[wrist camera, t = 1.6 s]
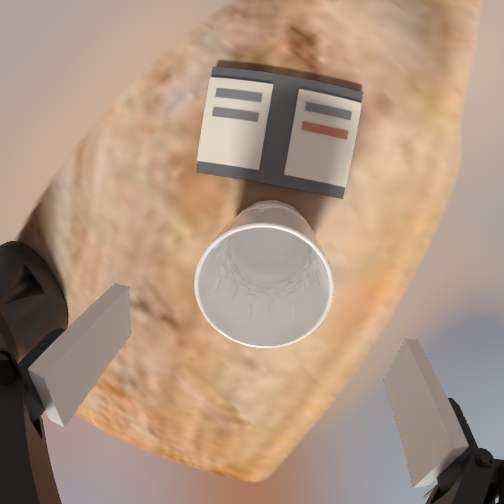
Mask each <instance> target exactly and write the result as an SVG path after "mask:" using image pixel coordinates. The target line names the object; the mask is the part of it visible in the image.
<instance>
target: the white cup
mask: <svg viewBox="0 0 504 504" xmlns="http://www.w3.org/2000/svg"><path fill="white" fill-rule="evenodd" d="M194 287H195V295H196V299H197V302H198V305H199V307H200V309H201V311H202V313H203V315H204V316H205V318H206V319H207V320H208V322H209V323H210V324H211V325H212V326H213V327H214V328H215V329H216V330H217V331H219V332H220V333H221V334H223V335H224V336H226V337H227V338H229V339H231V340H233V341H235V342H238V343H241V344H244V345H247V346H252V347H259V348H274V347H281V346H285V345H289V344H292V343H294V342H297V341H299V340H301V339H303V338H304V337H306V336H307V335H309V334H310V333H311V332H313V331H314V330H315V329H316V328H317V327H318V326H319V325H320V324H321V322H322V321H323V320H324V318H325V317H326V315H327V313H328V311H329V309H330V306H331V303H332V300H333V294H334V279H333V274H332V270H331V267H330V265H329V262H328V260H327V258H326V256H325V254H324V252H323V250H322V248H321V246H320V244H319V242H318V240H317V238H316V236H315V234H314V232H313V231H312V229H311V227H310V226H309V224H308V223H307V221H306V219H305V218H304V217H303V216H302V215H301V214H300V213H299V212H298V211H297V210H296V209H295V208H294V207H293V206H291V205H288V204H286V203H283V202H280V201H278V200H269V201H258V202H256V203H254V204H253V205H251V206H249V207H248V208H246V209H244V210H243V211H242V212H241V213H240V214H238V215H237V216H236V217H235V218H234V219H233V220H232V221H231V222H230V223H229V224H228V225H227V226H226V227H225V228H224V229H223V230H222V231H221V232H220V234H219V235H218V236H217V237H216V238H215V239H214V240H213V241H212V243H211V244H210V245H209V246H208V247H207V248H206V250H205V251H204V253H203V254H202V256H201V258H200V260H199V262H198V265H197V268H196V272H195V279H194Z"/></svg>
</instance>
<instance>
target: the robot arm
mask: <svg viewBox="0 0 504 504" xmlns="http://www.w3.org/2000/svg"><path fill="white" fill-rule="evenodd" d="M67 323H68V317H67V309H66V304H65V301H64V298H63V295H62V292H61V290H60V287H59V285H58V283H57V281H56V279H55V277H54V276H53V274H52V272H51V271H50V269H49V268H48V266H47V265H46V264H45V262H44V261H43V260H42V259H41V258H40V256H39V255H38V254H37V253H36V252H34V251H33V250H32V249H31V248H29V247H28V246H26V245H25V244H23V243H20V242H16V241H10V242H6V243H4V244H3V245H1V246H0V504H62V503H61V500H60V497H59V493H58V490H57V487H56V483H55V479H54V475H53V471H52V467H51V463H50V458H49V454H48V449H47V444H46V438H45V432H44V426H43V420H42V418H41V415H42V414H43V412H44V411H46V414H47V416H48V418H49V419H50V420H52V421H53V422H55V423H57V424H59V425H61V426H63V427H65V426H66V425H67V423H68V422H69V420H70V419H71V418H72V416H73V415H74V413H75V412H76V410H77V409H78V407H79V406H80V404H81V403H82V402H83V400H84V399H85V397H86V396H87V394H88V393H89V392H90V390H91V389H92V387H93V386H94V385H95V383H96V382H97V380H98V379H99V378H100V376H101V375H102V373H103V372H104V371H105V369H106V368H107V366H108V365H109V364H110V362H111V361H112V360H113V358H114V357H115V355H116V354H117V353H118V351H119V350H120V349H121V347H122V346H123V345H124V343H125V342H126V341H127V339H128V338H129V337H130V335H131V319H130V298H129V287H127V286H124V285H120V284H116V283H115V284H114V285H113V286H112V287H111V288H110V289H109V290H107V291H106V292H105V293H104V294H103V295H102V296H101V297H100V298H99V299H98V300H97V301H96V302H94V303H93V304H92V305H91V306H90V307H89V308H88V309H87V310H86V311H85V312H84V313H83V314H82V315H81V316H80V317H79V318H78V319H77V320H76V321H74V322H73V323H72V324H71V325H70V326H69V327H68V328H67ZM384 383H385V387H386V390H387V393H388V396H389V400H390V403H391V406H392V409H393V413H394V417H395V420H396V424H397V427H398V430H399V434H400V438H401V442H402V446H403V449H404V453H405V457H406V461H407V465H408V469H409V474H410V478H411V483H412V487H413V488H415V487H421V486H427V485H429V484H430V483H431V482H433V481H434V480H435V479H436V478H437V481H438V484H437V485H436V486H435V487H434V488H433V489H431V490H430V491H429V492H428V493H426V495H425V496H424V498H426V497H427V496H428V495H430V494H431V495H430V497H429V498H428V500H427V502H426V504H495V499H496V498H497V497H498V496H499V502H498V503H496V504H504V460H500V459H494V458H493V456H492V455H491V453H490V452H489V451H487V450H486V449H483V448H478V446H477V444H476V442H475V439H474V437H473V435H472V433H471V430H470V428H469V426H468V424H467V423H466V422H467V421H466V419H465V417H464V416H463V413H462V411H461V409H460V406H459V405H458V404H457V403H456V402H455V401H454V400H453V399H452V398H447V395H446V394H445V391H444V389H443V387H442V385H441V383H440V381H439V379H438V377H437V375H436V373H435V371H434V369H433V367H432V366H431V364H430V362H429V360H428V358H427V356H426V354H425V352H424V351H423V348H422V347H421V345H420V343H419V341H418V340H416V339H406V338H405V339H404V341H403V343H402V346H401V347H400V350H399V352H398V354H397V356H396V358H395V360H394V362H393V364H392V365H391V367H390V369H389V371H388V373H387V375H386V377H385V378H384Z"/></svg>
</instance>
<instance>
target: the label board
mask: <svg viewBox="0 0 504 504" xmlns="http://www.w3.org/2000/svg"><path fill="white" fill-rule="evenodd" d="M362 93H363V92H360V91H356V90H352V89H348V88H344V87H340V86H336V85H332V84H328V83H323V82H319V81H314V80H309V79H304V78H299V77H293V76H287V75H281V74H275V73H268V72H261V71H253V70H245V69H235V68H224V67H213V70H212V75H211V77H210V81H209V86H208V92H207V98H206V104H205V110H204V116H203V122H202V129H201V135H200V142H199V149H198V156H197V161H198V164H197V171H196V173H203V174H210V175H217V176H223V177H230V178H236V179H242V180H248V181H254V182H260V183H265V184H271V185H276V186H282V187H287V188H292V189H297V190H302V191H307V192H312V193H317V194H322V195H327V196H331V197H336V198H340V199H343V195H344V190H345V187H346V185H347V180H348V176H349V171H350V166H351V161H352V156H353V151H354V145H355V140H356V135H357V129H358V123H359V117H360V111H361V105H362V103H361V100H362Z"/></svg>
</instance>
